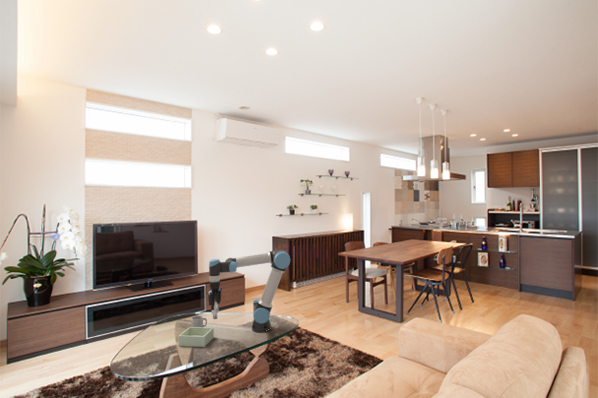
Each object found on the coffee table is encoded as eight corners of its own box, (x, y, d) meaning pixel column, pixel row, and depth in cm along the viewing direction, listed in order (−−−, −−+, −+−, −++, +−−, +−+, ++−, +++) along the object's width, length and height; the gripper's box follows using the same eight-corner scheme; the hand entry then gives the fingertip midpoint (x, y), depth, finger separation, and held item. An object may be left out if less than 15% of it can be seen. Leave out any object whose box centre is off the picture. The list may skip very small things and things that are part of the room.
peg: (218, 318, 242) (218, 301, 242) (215, 319, 239) (215, 302, 239) (214, 317, 243) (214, 301, 243) (212, 319, 240) (211, 302, 240)
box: (213, 337, 245) (213, 327, 245) (204, 346, 229) (204, 336, 229) (189, 336, 248) (189, 326, 248) (178, 345, 232) (178, 335, 232)
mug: (193, 335, 250) (193, 320, 250) (190, 331, 257) (189, 317, 257) (209, 330, 258) (208, 316, 258) (205, 327, 264) (204, 313, 264)
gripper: (217, 278, 250) (217, 309, 250) (203, 283, 235) (203, 316, 235) (225, 279, 247) (226, 310, 246) (211, 284, 232) (212, 317, 232)
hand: (215, 313), depth 241 cm, fingers closed on peg, 3 cm apart
